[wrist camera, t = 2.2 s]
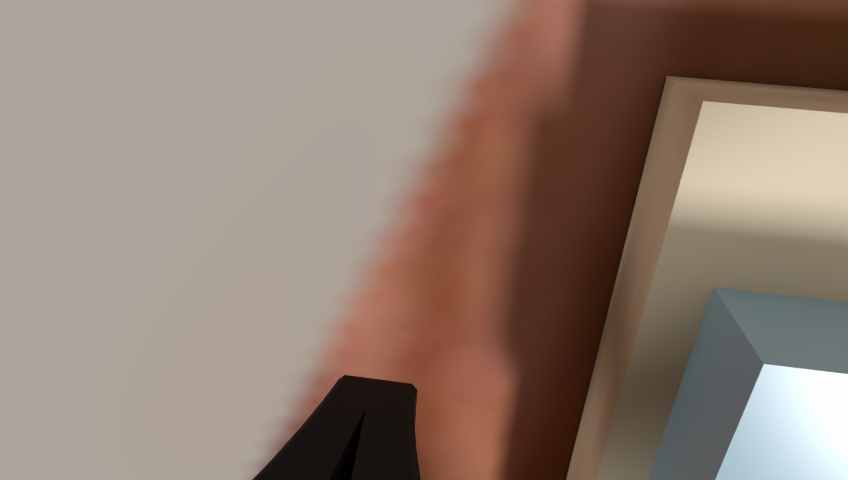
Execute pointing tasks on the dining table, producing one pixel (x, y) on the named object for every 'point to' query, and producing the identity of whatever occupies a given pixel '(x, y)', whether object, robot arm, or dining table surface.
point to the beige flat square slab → (712, 245)
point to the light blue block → (762, 393)
